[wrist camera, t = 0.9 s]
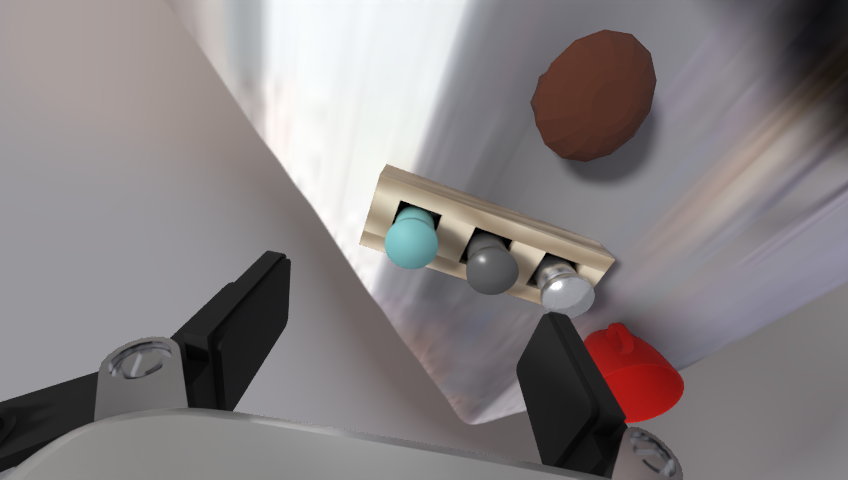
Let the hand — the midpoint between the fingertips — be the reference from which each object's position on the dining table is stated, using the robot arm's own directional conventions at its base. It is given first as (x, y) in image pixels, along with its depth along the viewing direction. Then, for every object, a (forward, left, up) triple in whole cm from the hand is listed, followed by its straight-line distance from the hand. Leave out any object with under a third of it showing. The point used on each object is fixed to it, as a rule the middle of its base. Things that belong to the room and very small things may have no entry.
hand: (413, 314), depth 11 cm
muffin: (-11, +13, -32) cm, 36 cm away
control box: (+9, +11, -32) cm, 35 cm away
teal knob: (+9, +1, -29) cm, 30 cm away
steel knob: (+9, +21, -29) cm, 37 cm away
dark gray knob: (+9, +11, -29) cm, 32 cm away
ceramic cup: (+19, +38, -32) cm, 53 cm away
